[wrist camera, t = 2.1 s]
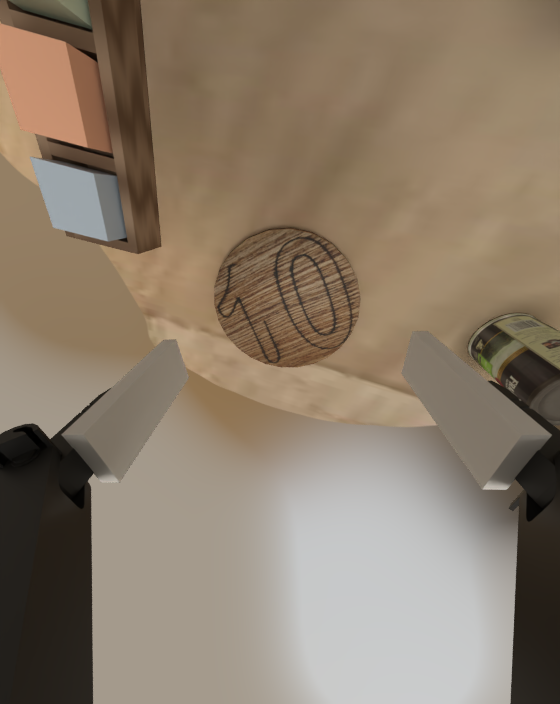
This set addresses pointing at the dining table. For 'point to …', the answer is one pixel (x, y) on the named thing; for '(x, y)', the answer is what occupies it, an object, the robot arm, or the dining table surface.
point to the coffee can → (522, 360)
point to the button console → (110, 110)
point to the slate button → (81, 199)
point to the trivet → (287, 297)
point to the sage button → (59, 10)
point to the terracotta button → (54, 89)
